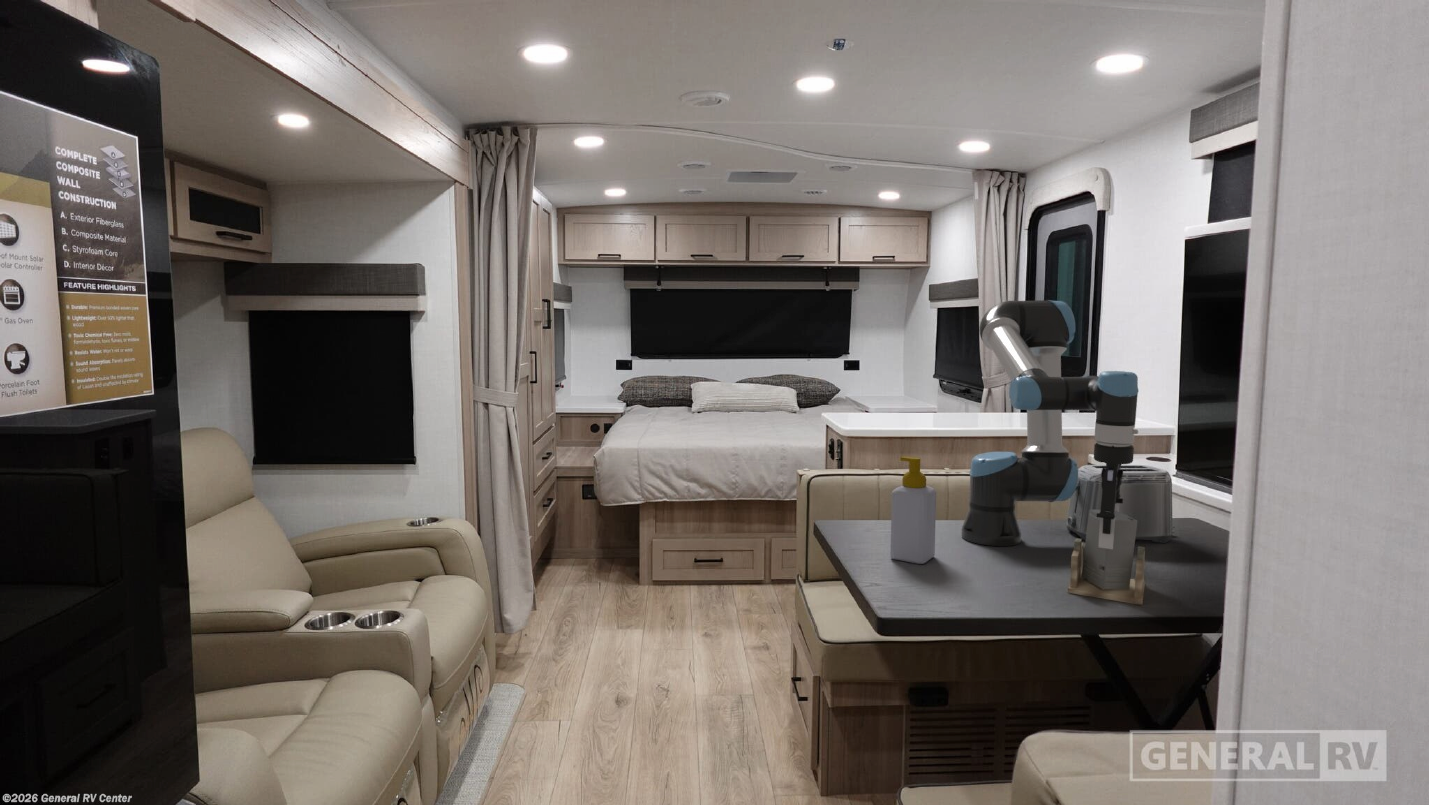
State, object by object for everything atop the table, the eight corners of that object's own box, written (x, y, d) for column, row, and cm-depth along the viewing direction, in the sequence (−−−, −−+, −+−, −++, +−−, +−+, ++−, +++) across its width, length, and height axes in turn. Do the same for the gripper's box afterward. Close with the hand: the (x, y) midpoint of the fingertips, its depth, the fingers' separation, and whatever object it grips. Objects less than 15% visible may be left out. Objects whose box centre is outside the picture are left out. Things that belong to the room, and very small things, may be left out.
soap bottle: (901, 550, 193) (904, 454, 191) (936, 556, 188) (939, 457, 185) (888, 559, 186) (890, 459, 183) (923, 566, 181) (926, 462, 178)
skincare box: (1080, 578, 168) (1083, 508, 167) (1111, 577, 169) (1114, 508, 167) (1102, 591, 160) (1106, 518, 158) (1134, 590, 161) (1138, 517, 159)
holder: (1067, 592, 162) (1069, 547, 161) (1075, 574, 174) (1077, 532, 173) (1142, 605, 155) (1144, 557, 154) (1144, 585, 167) (1147, 541, 166)
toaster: (1055, 528, 214) (1057, 462, 213) (1161, 529, 213) (1165, 463, 211) (1080, 545, 198) (1084, 473, 196) (1196, 546, 196) (1200, 474, 194)
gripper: (1130, 454, 149) (1124, 558, 151) (1136, 436, 170) (1131, 528, 172) (1088, 451, 153) (1083, 552, 155) (1099, 434, 174) (1094, 523, 176)
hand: (1108, 539), depth 164 cm, fingers open, 13 cm apart
